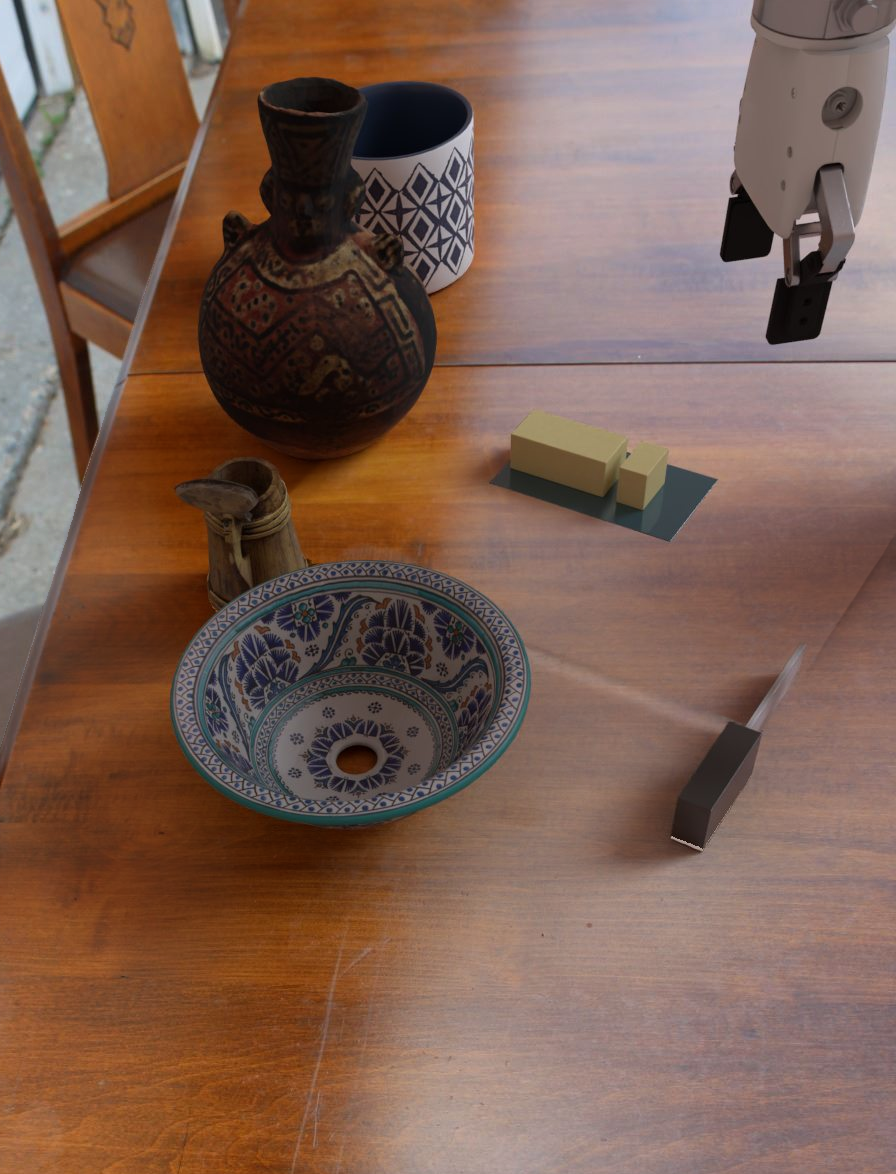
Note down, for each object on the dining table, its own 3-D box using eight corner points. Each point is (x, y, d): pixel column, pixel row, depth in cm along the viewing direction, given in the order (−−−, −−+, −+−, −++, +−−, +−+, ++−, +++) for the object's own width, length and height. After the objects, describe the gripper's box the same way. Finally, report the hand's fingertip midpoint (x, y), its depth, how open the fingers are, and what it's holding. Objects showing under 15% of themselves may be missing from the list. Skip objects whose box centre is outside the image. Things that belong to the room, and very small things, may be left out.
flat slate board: (489, 492, 116) (489, 482, 115) (540, 435, 120) (540, 425, 119) (669, 551, 109) (670, 541, 108) (716, 488, 113) (718, 479, 112)
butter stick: (509, 468, 116) (510, 433, 113) (532, 442, 118) (533, 408, 115) (603, 497, 112) (605, 463, 110) (625, 471, 114) (628, 436, 111)
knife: (702, 852, 91) (711, 811, 88) (669, 838, 92) (677, 797, 89) (808, 687, 99) (821, 642, 95) (778, 676, 100) (789, 631, 96)
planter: (386, 323, 133) (377, 177, 122) (293, 266, 141) (276, 124, 130) (506, 259, 137) (508, 112, 126) (409, 207, 146) (402, 65, 134)
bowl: (189, 674, 107) (166, 583, 100) (498, 633, 106) (499, 537, 98) (197, 927, 92) (171, 843, 85) (556, 882, 91) (562, 792, 84)
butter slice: (615, 502, 112) (619, 467, 109) (637, 475, 114) (641, 440, 111) (642, 510, 111) (647, 475, 108) (664, 483, 113) (669, 448, 110)
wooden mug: (185, 663, 108) (138, 479, 93) (221, 553, 116) (183, 366, 101) (292, 669, 106) (261, 482, 92) (321, 556, 114) (297, 367, 99)
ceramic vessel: (188, 483, 122) (115, 144, 98) (251, 372, 131) (198, 37, 107) (409, 509, 116) (390, 156, 92) (459, 391, 125) (453, 41, 101)
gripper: (964, 48, 65) (874, 365, 79) (843, -80, 75) (783, 221, 89) (811, 70, 65) (748, 383, 79) (712, -60, 75) (672, 237, 89)
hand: (767, 297), depth 84 cm, fingers open, 9 cm apart
